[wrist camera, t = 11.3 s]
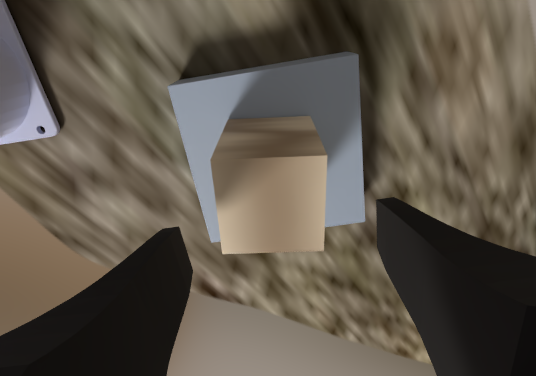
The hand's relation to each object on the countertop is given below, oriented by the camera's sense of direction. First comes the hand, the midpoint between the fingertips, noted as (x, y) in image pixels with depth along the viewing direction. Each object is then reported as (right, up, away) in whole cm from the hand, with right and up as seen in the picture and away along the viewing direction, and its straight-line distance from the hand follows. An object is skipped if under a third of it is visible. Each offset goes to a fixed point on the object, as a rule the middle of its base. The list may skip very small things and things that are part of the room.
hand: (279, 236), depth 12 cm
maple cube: (0, +4, +7) cm, 8 cm away
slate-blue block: (0, +5, +10) cm, 11 cm away
